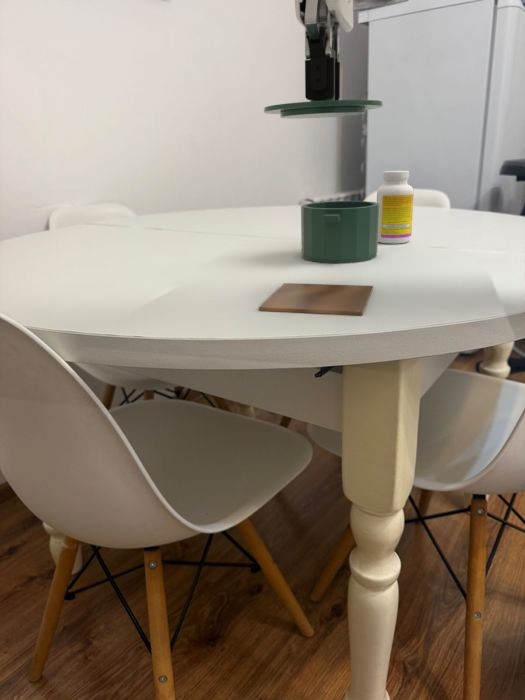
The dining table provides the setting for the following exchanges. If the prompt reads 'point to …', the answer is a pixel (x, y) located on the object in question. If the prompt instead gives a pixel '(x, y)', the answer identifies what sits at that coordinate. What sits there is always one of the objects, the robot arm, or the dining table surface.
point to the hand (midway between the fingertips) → (322, 98)
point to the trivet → (319, 299)
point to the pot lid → (323, 107)
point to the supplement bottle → (395, 208)
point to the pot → (339, 231)
